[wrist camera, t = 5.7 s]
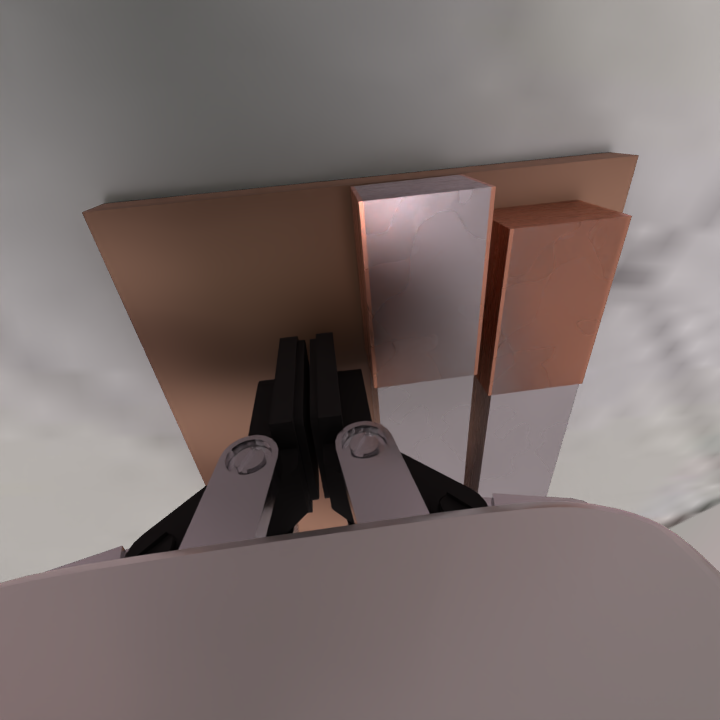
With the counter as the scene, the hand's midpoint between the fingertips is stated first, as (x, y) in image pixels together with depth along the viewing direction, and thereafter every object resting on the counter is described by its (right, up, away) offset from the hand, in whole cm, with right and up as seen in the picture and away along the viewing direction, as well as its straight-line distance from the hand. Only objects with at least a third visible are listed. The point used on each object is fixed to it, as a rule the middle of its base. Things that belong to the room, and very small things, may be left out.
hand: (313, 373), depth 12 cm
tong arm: (+4, -3, +3) cm, 5 cm away
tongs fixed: (+5, -5, +4) cm, 8 cm away
